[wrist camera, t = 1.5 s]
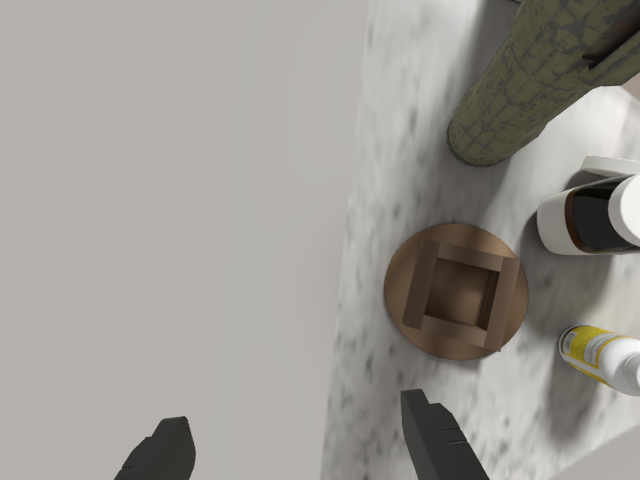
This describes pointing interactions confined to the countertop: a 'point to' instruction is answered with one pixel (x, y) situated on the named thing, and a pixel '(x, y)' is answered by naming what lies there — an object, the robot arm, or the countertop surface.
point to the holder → (456, 291)
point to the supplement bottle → (603, 356)
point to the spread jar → (595, 212)
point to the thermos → (544, 73)
